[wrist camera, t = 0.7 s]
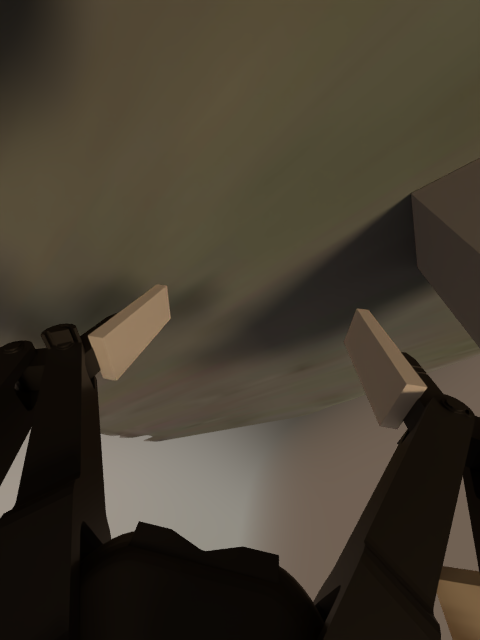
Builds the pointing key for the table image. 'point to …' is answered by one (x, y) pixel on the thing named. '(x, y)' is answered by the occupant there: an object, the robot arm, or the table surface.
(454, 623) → the birch strip
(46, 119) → the table surface
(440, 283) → the grey stand
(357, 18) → the table surface
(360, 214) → the table surface
